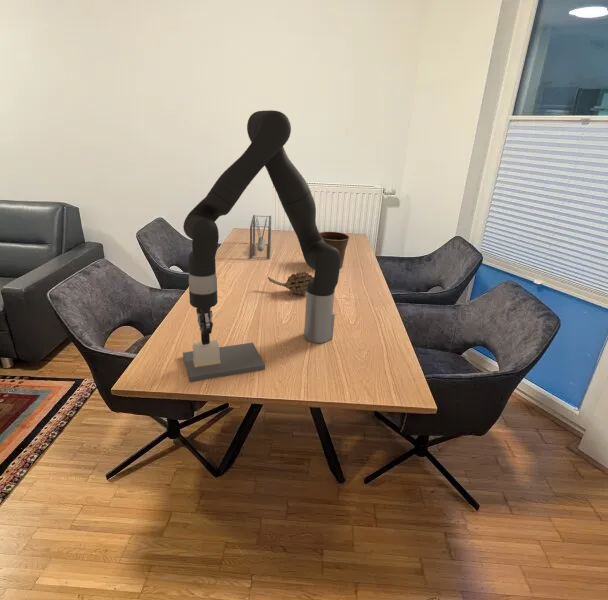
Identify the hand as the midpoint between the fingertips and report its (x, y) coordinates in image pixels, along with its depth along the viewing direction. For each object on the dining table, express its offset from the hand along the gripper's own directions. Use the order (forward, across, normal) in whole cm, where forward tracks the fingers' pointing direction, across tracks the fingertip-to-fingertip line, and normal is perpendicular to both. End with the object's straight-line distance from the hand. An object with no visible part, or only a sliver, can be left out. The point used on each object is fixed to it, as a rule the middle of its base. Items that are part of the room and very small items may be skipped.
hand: (205, 343), depth 119 cm
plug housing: (+6, 0, 0) cm, 6 cm away
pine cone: (+8, +47, -44) cm, 65 cm away
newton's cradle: (+8, +108, -49) cm, 119 cm away
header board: (+8, 0, -5) cm, 9 cm away
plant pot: (+8, +76, -77) cm, 109 cm away
